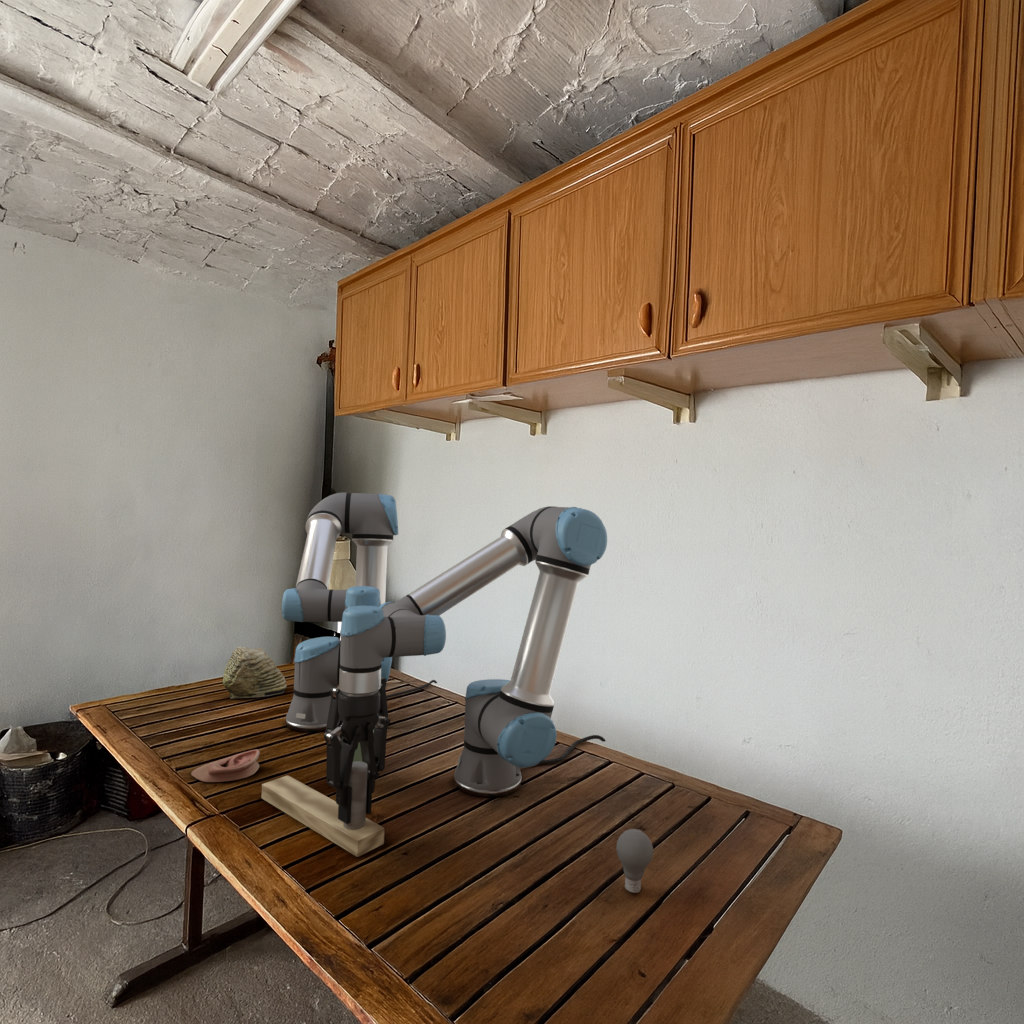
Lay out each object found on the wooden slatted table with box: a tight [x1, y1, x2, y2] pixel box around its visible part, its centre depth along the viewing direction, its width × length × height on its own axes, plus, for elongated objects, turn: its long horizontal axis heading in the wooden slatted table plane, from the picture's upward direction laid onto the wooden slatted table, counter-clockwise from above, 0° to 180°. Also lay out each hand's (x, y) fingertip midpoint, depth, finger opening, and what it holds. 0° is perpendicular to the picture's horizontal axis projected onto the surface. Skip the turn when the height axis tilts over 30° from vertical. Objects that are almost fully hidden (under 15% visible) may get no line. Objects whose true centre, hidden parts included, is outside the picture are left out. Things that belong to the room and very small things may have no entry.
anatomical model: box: [190, 748, 261, 783], centre depth 143 cm, size 13×4×12 cm
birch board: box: [261, 761, 385, 858], centre depth 124 cm, size 6×32×14 cm, turn 51°
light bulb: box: [615, 828, 654, 894], centre depth 106 cm, size 6×6×10 cm
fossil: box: [222, 646, 288, 699], centre depth 198 cm, size 9×18×15 cm, turn 132°
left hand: (356, 758), depth 141 cm, fingers closed on green block, 8 cm apart
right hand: (354, 815), depth 117 cm, fingers closed on birch board, 4 cm apart
